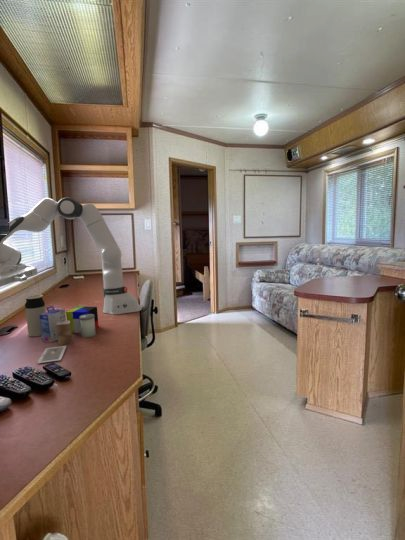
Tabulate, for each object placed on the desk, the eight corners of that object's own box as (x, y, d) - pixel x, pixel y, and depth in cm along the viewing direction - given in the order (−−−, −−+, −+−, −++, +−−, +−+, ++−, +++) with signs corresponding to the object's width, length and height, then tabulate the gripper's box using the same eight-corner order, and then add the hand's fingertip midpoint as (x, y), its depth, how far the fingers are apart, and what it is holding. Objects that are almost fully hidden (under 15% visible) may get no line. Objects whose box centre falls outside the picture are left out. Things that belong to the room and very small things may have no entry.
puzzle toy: (87, 333, 144) (85, 312, 143) (68, 332, 146) (65, 311, 145) (98, 326, 154) (96, 306, 152) (80, 326, 156) (78, 306, 154)
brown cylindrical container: (72, 340, 135) (70, 320, 134) (71, 344, 130) (69, 323, 129) (59, 342, 133) (57, 321, 132) (58, 346, 128) (56, 325, 127)
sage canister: (97, 332, 144) (95, 313, 143) (94, 336, 138) (93, 317, 137) (82, 333, 143) (80, 314, 142) (79, 338, 137) (77, 318, 136)
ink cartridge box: (58, 334, 144) (55, 303, 142) (68, 335, 142) (65, 304, 140) (41, 341, 134) (38, 309, 133) (51, 342, 133) (48, 309, 131)
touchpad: (67, 348, 127) (66, 343, 127) (61, 362, 113) (60, 357, 112) (46, 350, 125) (45, 345, 125) (37, 366, 110) (36, 360, 110)
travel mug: (51, 332, 146) (47, 295, 144) (34, 338, 140) (30, 298, 137) (41, 330, 151) (37, 293, 148) (25, 335, 144) (20, 297, 142)
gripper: (-16, 274, 147) (0, 280, 141) (26, 261, 164) (42, 266, 157) (-13, 286, 150) (3, 293, 143) (29, 273, 166) (44, 278, 159)
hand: (24, 279), depth 150 cm, fingers closed
